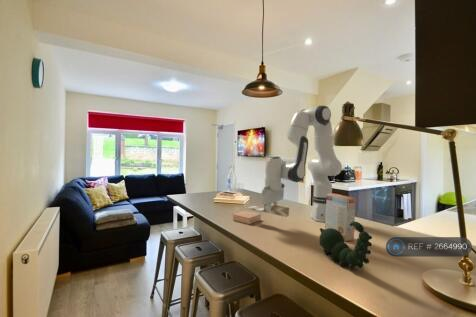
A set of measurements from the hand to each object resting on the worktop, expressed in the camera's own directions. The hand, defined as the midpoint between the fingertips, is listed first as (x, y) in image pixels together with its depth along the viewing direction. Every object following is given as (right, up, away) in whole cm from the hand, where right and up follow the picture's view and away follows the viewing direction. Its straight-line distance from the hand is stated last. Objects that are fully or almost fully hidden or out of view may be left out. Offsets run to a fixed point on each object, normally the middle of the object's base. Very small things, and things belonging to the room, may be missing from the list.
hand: (271, 210), depth 136 cm
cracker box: (+32, -11, -13) cm, 36 cm away
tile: (-9, -7, +7) cm, 13 cm away
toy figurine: (+21, -12, -41) cm, 47 cm away
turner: (-2, -1, +2) cm, 3 cm away
